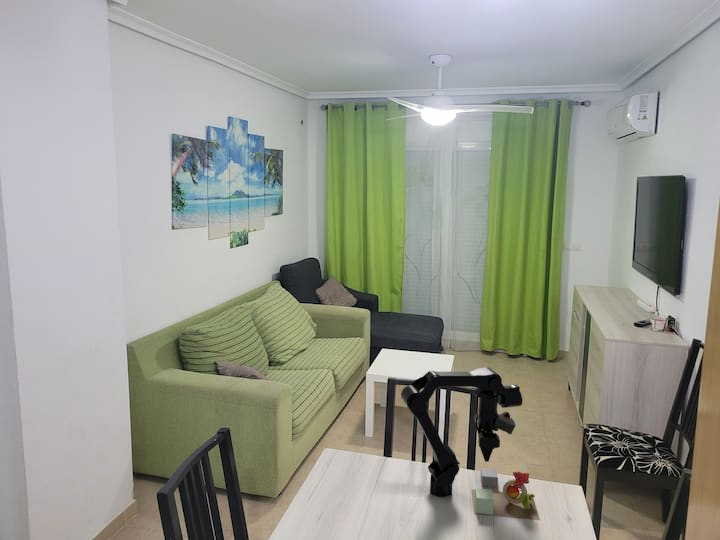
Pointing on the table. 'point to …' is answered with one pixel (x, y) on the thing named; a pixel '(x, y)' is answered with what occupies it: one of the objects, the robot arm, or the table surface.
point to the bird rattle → (512, 489)
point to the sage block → (484, 501)
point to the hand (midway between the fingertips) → (485, 453)
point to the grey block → (489, 477)
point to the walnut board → (510, 507)
